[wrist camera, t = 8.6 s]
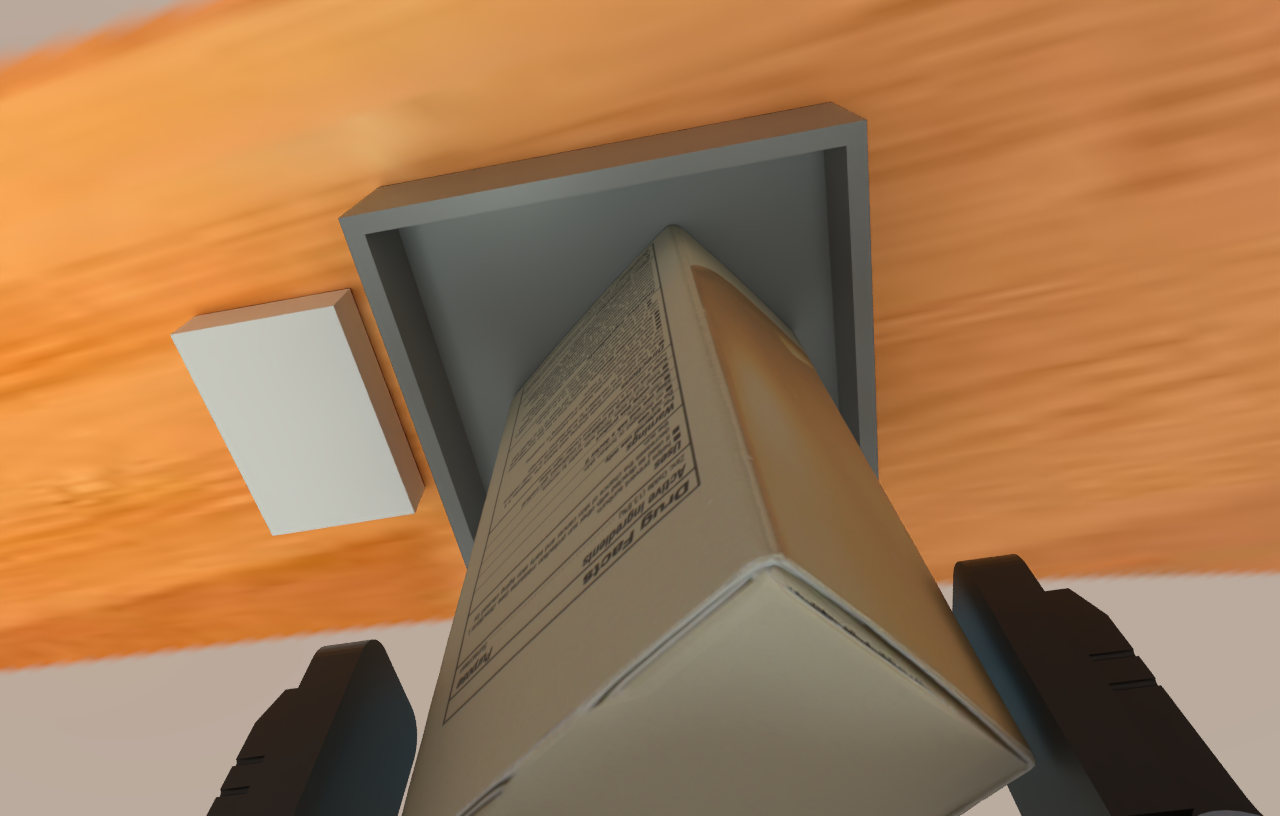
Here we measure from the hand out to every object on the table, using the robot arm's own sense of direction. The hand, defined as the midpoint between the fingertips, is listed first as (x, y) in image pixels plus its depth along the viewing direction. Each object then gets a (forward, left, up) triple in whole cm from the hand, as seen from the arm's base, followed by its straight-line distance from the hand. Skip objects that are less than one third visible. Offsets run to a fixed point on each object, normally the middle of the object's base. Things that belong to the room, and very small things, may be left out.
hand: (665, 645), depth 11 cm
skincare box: (0, 0, -10) cm, 10 cm away
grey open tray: (+3, +1, -10) cm, 11 cm away
